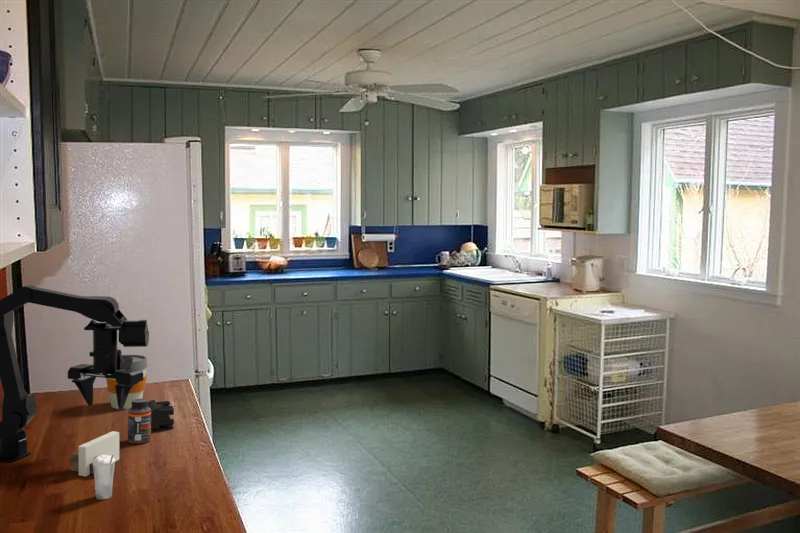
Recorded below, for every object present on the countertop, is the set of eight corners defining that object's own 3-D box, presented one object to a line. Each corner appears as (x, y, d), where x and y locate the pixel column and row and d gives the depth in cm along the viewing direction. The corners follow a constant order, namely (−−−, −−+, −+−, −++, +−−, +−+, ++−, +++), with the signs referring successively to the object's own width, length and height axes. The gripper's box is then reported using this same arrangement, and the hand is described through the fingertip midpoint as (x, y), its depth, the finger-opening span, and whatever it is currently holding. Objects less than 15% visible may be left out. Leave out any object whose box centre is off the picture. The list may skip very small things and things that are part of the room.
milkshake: (103, 503, 151) (103, 458, 150) (88, 497, 154) (87, 453, 153) (122, 496, 155) (121, 452, 154) (106, 491, 157) (106, 447, 157)
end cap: (143, 422, 207) (143, 400, 207) (168, 420, 210) (168, 398, 210) (147, 433, 198) (147, 409, 198) (174, 430, 202) (174, 406, 201)
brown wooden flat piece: (70, 470, 169) (70, 454, 169) (74, 468, 170) (73, 452, 170) (106, 475, 166) (105, 459, 166) (109, 473, 167) (109, 457, 167)
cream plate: (85, 476, 166) (85, 447, 165) (78, 475, 166) (78, 446, 166) (119, 459, 177) (119, 432, 176) (112, 458, 178) (112, 431, 177)
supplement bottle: (143, 445, 188) (143, 403, 187) (123, 443, 189) (122, 402, 188) (155, 438, 193) (155, 398, 192) (135, 436, 195) (135, 396, 194)
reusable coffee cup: (120, 398, 232) (120, 353, 231) (155, 401, 230) (155, 356, 228) (96, 408, 220) (96, 361, 219) (133, 412, 217) (133, 364, 216)
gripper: (156, 344, 184) (156, 403, 185) (95, 338, 189) (96, 396, 190) (129, 352, 173) (129, 414, 175) (65, 346, 178) (66, 406, 180)
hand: (105, 407), depth 180 cm, fingers open, 9 cm apart
